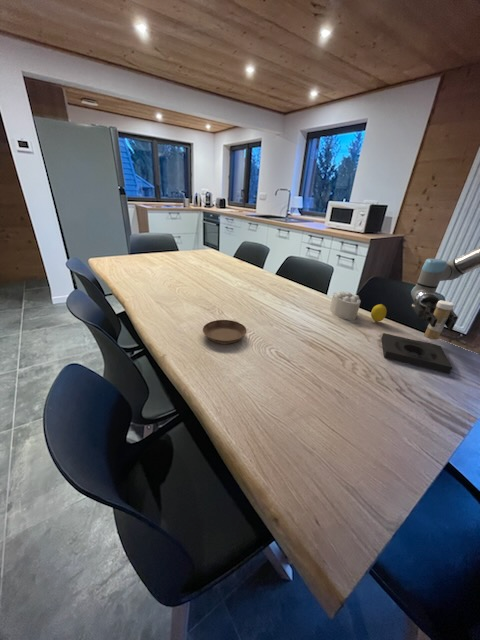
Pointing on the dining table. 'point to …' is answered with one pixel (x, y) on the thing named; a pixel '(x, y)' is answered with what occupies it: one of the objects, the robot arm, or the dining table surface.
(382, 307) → the lemon
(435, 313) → the sprinkles bottle
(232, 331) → the saucer
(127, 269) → the dining table surface
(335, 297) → the lumpy-topped squat cylinder
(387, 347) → the dock pad
